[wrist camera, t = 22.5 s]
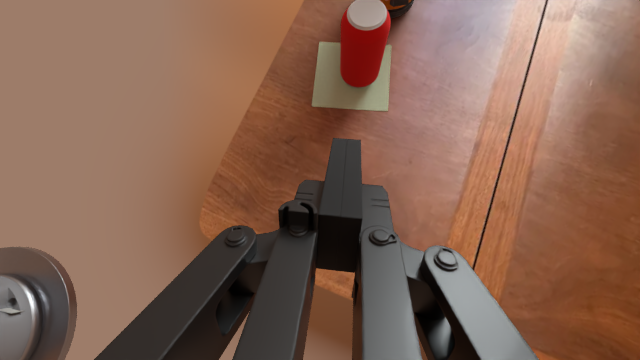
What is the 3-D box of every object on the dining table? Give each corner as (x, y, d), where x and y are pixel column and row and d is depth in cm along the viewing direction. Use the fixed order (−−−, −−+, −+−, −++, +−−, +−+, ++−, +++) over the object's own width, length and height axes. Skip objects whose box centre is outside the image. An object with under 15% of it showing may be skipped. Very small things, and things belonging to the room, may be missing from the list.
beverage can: (333, 80, 43) (331, 21, 31) (352, 51, 44) (357, -17, 32) (366, 97, 42) (377, 42, 30) (385, 67, 43) (402, 2, 31)
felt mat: (311, 106, 42) (311, 106, 42) (319, 42, 45) (319, 41, 45) (387, 111, 41) (387, 111, 41) (391, 45, 44) (391, 45, 44)
